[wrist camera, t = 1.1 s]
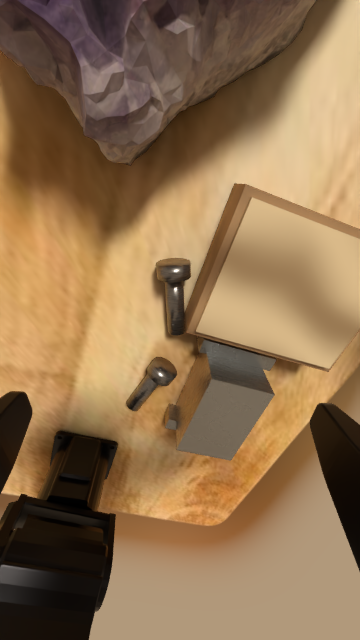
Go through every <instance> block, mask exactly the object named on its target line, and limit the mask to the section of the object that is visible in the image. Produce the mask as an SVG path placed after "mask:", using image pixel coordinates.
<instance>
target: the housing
mask: <svg viewBox="0 0 360 640" xmlns="http://www.w3.org/2000/svg"><path fill="white" fill-rule="evenodd" d="M197 344H198V351H199V354H198V356H197V358H196V361H195V363H194V365H193V367H192V370H191V372H190V374H189V376H188V378H187V381H186V383H185V385H184V387H183V390H182V392H181V394H180V396H179V399H178V401H177V403H176V405H173V404H169V405H168V407H167V409H166V412H165V428H168V429H173V430H176V450H179V451H184V452H190V453H195V454H200V455H205V456H210V457H215V458H221V459H226V460H232V458H233V457H234V455H235V454H236V452H237V451H238V449H239V448H240V446H241V445H242V443H243V442H244V440H245V439H246V437H247V436H248V434H249V433H250V431H251V430H252V428H253V427H254V425H255V424H256V422H257V421H258V419H259V417H260V416H261V414H262V413H263V411H264V410H265V408H266V407H267V405H268V404H269V402H270V401H271V399H272V398H273V396H274V395H275V394H274V392H273V390H272V388H271V386H270V384H269V382H268V380H267V378H266V375H265V373H264V371H263V369H265V370H268V371H270V370H271V368H272V366H273V365H274V363H275V362H276V358H275V357H273V356H269V355H265V354H262V353H258V352H255V351H251V350H247V349H244V348H240V347H236V346H233V345H229V344H226V343H222V342H218V341H215V340H211V339H208V338H204V337H200V336H198V337H197Z"/></svg>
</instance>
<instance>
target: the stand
mask: <svg viewBox="0 0 360 640" xmlns="http://www.w3.org/2000/svg"><path fill="white" fill-rule="evenodd" d="M185 323H186V333H190V334H193V335H197V336H200V337H204V338H208V339H211V340H215V341H218V342H222V343H226V344H229V345H233V346H236V347H240V348H244V349H247V350H251V351H255V352H258V353H262V354H265V355H269V356H273V357H276V358H280V359H283V360H287V361H291V362H294V363H298V364H302V365H305V366H309V367H312V368H316V369H320V370H323V371H327V372H329V370H330V369H331V368H332V366H333V365H334V364H335V362H336V361H337V360H338V358H339V357H340V356H341V354H342V353H343V352H344V350H345V349H346V348H347V346H348V345H349V344H350V342H351V341H352V340H353V338H354V337H355V336H356V334H357V333H358V332H359V330H360V229H358V228H355V227H353V226H350V225H348V224H345V223H343V222H340V221H337V220H335V219H332V218H330V217H327V216H325V215H322V214H320V213H317V212H315V211H312V210H310V209H307V208H305V207H302V206H300V205H297V204H295V203H292V202H289V201H287V200H284V199H282V198H279V197H277V196H274V195H272V194H269V193H267V192H264V191H262V190H259V189H257V188H254V187H252V186H249V185H247V184H234V186H233V189H232V192H231V194H230V197H229V199H228V202H227V205H226V207H225V210H224V212H223V215H222V218H221V220H220V223H219V225H218V228H217V231H216V233H215V236H214V239H213V241H212V244H211V246H210V249H209V252H208V254H207V257H206V259H205V262H204V265H203V267H202V270H201V272H200V275H199V278H198V280H197V283H196V285H195V288H194V291H193V293H192V296H191V298H190V301H189V304H188V306H187V309H186V312H185Z"/></svg>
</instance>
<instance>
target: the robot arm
mask: <svg viewBox="0 0 360 640" xmlns="http://www.w3.org/2000/svg"><path fill="white" fill-rule="evenodd" d="M31 417H32V407H31V405H30V402H29V399H28V397H27V394H26V393H25V392H21V391H11V392H9V393H7V394H5V395H4V396H2V397H1V398H0V494H1V492H2V490H3V488H4V486H5V484H6V481H7V479H8V477H9V475H10V473H11V471H12V469H13V466H14V464H15V461H16V459H17V456H18V453H19V450H20V448H21V445H22V442H23V439H24V437H25V434H26V431H27V428H28V426H29V423H30V420H31ZM310 428H311V432H312V435H313V439H314V443H315V446H316V450H317V453H318V457H319V461H320V465H321V468H322V472H323V475H324V478H325V481H326V484H327V487H328V489H329V492H330V495H331V497H332V500H333V502H334V505H335V508H336V510H337V513H338V516H339V518H340V521H341V523H342V526H343V529H344V531H345V533H346V537H347V539H348V542H349V544H350V547H351V550H352V552H353V555H354V557H355V560H356V563H357V565H358V568H359V571H360V425H359V424H358V423H357V422H355V421H354V420H353V419H352V418H350V417H349V416H348V415H347V414H346V413H344V412H343V411H342V410H341V409H339V408H338V407H337V406H336V405H334V404H331V403H319V404H318V405H317V407H316V409H315V411H314V413H313V415H312V417H311V419H310ZM117 447H118V443H117V442H115V441H110V440H105V439H100V438H95V437H89V436H84V435H79V434H74V433H69V432H63V431H58V432H57V433H56V435H55V439H54V445H53V451H52V457H51V462H50V468H49V471H48V473H47V475H46V478H45V480H44V482H43V485H42V487H41V490H40V492H39V494H38V497H37V498H33V497H29V496H27V495H25V494H21V495H20V497H19V499H18V501H16V502H11V503H9V505H8V506H7V508H6V510H5V512H4V514H3V516H2V518H1V520H0V640H89V635H90V629H91V625H92V621H93V617H94V613H95V611H98V610H99V609H100V607H101V605H102V602H103V600H104V597H105V594H106V591H107V587H108V583H109V579H110V573H111V568H112V560H113V544H114V530H115V516H116V515H115V514H112V513H110V514H107V513H102V512H98V507H99V502H100V498H101V493H102V489H103V485H104V480H105V479H107V477H108V474H109V471H110V468H111V465H112V462H113V459H114V456H115V453H116V450H117ZM14 529H15V530H14Z"/></svg>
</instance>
